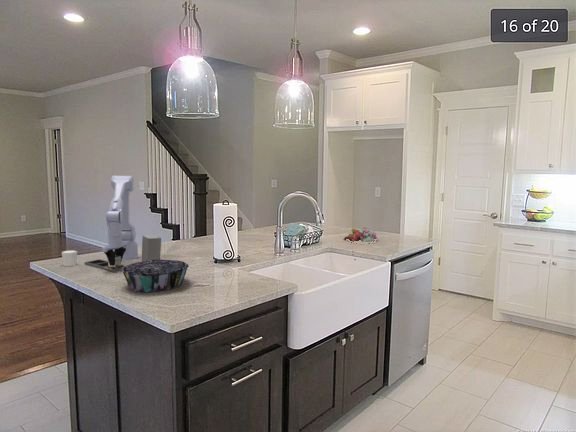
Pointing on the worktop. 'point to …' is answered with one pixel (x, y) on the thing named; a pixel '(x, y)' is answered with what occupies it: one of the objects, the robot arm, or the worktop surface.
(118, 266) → the brushed steel square tube
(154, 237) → the skincare box
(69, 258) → the white cup
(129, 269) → the decorative bowl
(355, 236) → the multicoloured flower wreath
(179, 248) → the worktop surface
